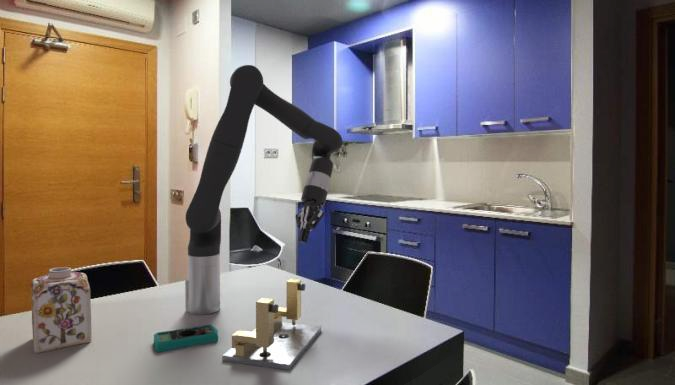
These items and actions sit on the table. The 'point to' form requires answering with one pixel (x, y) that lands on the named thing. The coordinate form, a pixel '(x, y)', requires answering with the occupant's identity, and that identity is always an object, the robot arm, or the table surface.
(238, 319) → the table surface
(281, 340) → the flange plate
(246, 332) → the tan block assembly
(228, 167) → the robot arm
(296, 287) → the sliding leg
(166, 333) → the digital multimeter
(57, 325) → the decorative jar
